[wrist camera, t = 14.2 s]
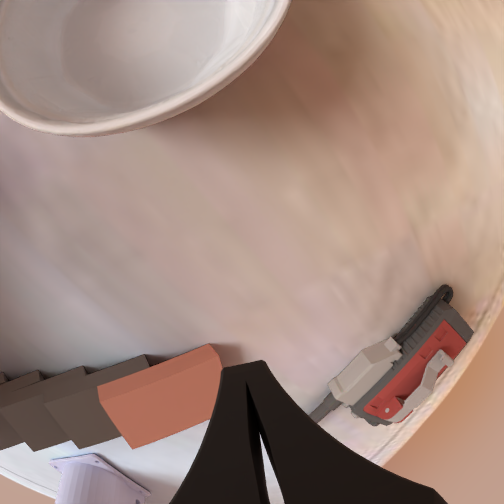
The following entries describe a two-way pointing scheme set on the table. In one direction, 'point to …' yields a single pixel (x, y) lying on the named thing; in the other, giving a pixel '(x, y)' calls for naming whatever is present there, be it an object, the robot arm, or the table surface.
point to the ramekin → (124, 59)
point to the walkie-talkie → (400, 365)
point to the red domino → (164, 397)
